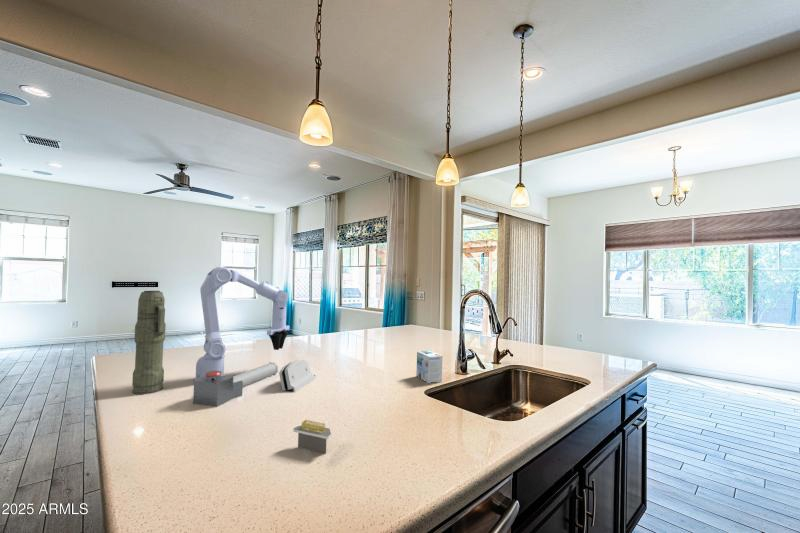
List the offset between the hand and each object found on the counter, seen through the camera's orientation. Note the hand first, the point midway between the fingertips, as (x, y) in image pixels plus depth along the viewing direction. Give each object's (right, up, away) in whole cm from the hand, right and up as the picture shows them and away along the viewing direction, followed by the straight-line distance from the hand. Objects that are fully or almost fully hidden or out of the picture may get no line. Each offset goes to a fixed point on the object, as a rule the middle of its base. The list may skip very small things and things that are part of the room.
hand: (278, 349), depth 151 cm
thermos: (-36, -8, -28) cm, 46 cm away
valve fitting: (-8, -8, -35) cm, 37 cm away
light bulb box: (+65, -11, -6) cm, 66 cm away
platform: (+32, -9, -66) cm, 74 cm away
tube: (-5, -9, -17) cm, 20 cm away
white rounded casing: (+13, -10, -17) cm, 24 cm away
